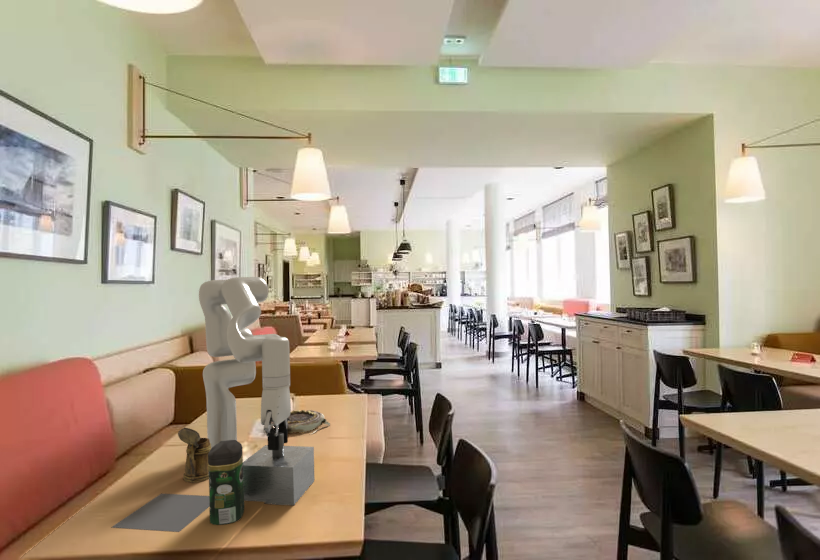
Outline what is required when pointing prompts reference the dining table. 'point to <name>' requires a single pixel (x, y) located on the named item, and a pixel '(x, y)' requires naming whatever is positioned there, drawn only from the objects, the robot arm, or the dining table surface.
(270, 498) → the cover
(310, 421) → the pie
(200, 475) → the wooden mug
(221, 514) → the coffee jar
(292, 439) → the dining table surface
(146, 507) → the mat
